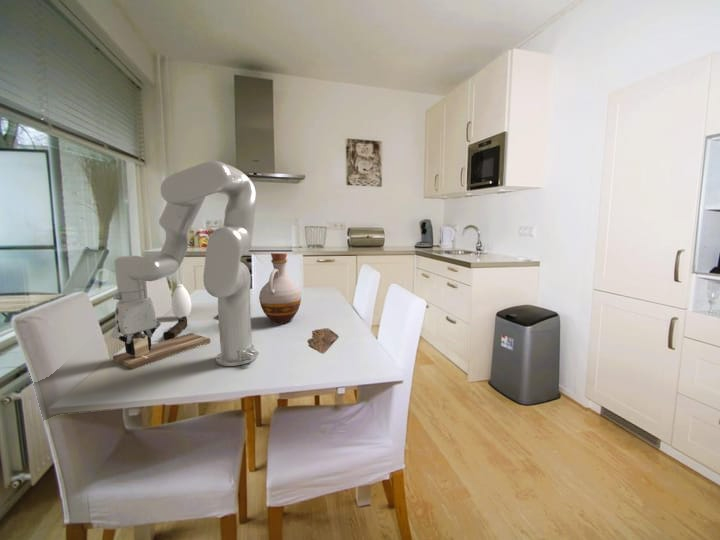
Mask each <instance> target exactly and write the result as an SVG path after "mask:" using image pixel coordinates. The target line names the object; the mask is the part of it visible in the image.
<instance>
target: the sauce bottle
mask: <svg viewBox="0 0 720 540" xmlns="http://www.w3.org/2000/svg"><path fill="white" fill-rule="evenodd" d="M171 308H172V312H173V314H174V315H175V317H177V318H179V319H180V318H182V317H184V316H186V317H188V316H189V315H190V314H191V311H192V300H191V296H190V294H189V291H188V290H187V289H186V287H185V286H184V284H182V283H181V279H180V278H179V279H178V284H177V285H176V287H175V289H174V292H173V294H172V297H171Z"/></svg>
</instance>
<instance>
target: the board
mask: <svg viewBox="0 0 720 540" xmlns="http://www.w3.org/2000/svg"><path fill="white" fill-rule="evenodd" d="M206 343H208V344H210V343H211V338H209V337H205V336H202V335H199V334H195V333H192V332H189V333H185V334H182V335H179V336H176V337H175V338H172V339H169V340H162V341H159V342H155V343H153V344H152V343H151V350H149V354H146V355H143V356H139V357H136V358H135V357H133V356H131V355H129V354H128V353H126V351H125V352H123V353H119V354H115V355H113V356H112V358H113V359H112V361H114V362H116V363H117V364H120V365H121V366H123V367H126V368H128V369H130V370H135V369H138V368H141V367H143V365H144V366H146V365H145V364H147V365H149V364H148V363H150V364H152V363H151V362H153V363H155V362H158V361H161V360H164V359H167V358H170V357H172V355H173V356H175V354H176V355H179V354H181V353H180V352H182V353H184V352H183V351H185V352H187V351H186V350H188V351H190V350H189V349H191V350H193V349H195V347H196V348H198V347H197V346H199V347H201V346H200V345H202V346H204V345H203V344H205V345H207V344H206ZM192 348H193V349H192ZM178 353H179V354H178ZM169 356H170V357H169ZM166 357H167V358H166ZM163 358H164V359H163ZM160 359H161V360H160ZM157 360H158V361H157ZM154 361H155V362H154ZM140 366H141V367H140ZM137 367H138V368H137ZM134 368H135V369H134Z"/></svg>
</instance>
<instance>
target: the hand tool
mask: <svg viewBox="0 0 720 540" xmlns="http://www.w3.org/2000/svg"><path fill="white" fill-rule="evenodd" d="M187 317H188V316H187ZM187 317H186V316H184V317H182V318H179V319H177V322H176V323H175V324H174V325H173V326H172V327H170V328H169V329H168V330H166V331H164V332H163V334H162V338H163V341H165V340H169V339H172V338H175V337H177V335H179V334H180V333H181V332H182V331H183V330H186V329H187V328H186V327H187V326H188V318H187ZM185 328H186V329H185Z"/></svg>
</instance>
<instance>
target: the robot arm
mask: <svg viewBox="0 0 720 540" xmlns="http://www.w3.org/2000/svg"><path fill="white" fill-rule="evenodd" d="M160 194H161V197H162V198H163V200H164V201H166V205H165V207H164V209H163V211H162V214H161V216H160V218H159V219H158V223H159V226H160V227H161V228H162V229H163V230H164V232H165V241H164V244H163V246H162V248H161V250H160V252H159V253H158V254H157V253H156V254H153V255H148V256H140V255H126V256H125V255H124V256H119V257H116V258H115V260H114V270H115V277H116V278H115V279H116V286H117V292H116V294H113V296H112V298H113V300H117V302H116V304H115V327H114V329H113V331H112V332H111V334H110V337H111V338H113V339H116V340H119V341H121V342H123V343H124V346H125V348H124V349H125V352H126V353H128V354H130V355H134V354H135V353H134V344H133V343H132V342H131V338H132V336H133V335H132V334H134V333H138V332H140V333H143V334H145V335H147V338H148V348H149V350H151V345H152V337H153V335H154V334H155V332H156V330H157V329H158V328H159V327H161V322H159V320H158V319H157V316H156V311H155V306H154V304H153V301H152V298H151V297H150V296H148V287H147V282H154V281H155V282H156V281H158V280H162V279H163V278H166V277H170V276H173V275H174V274H175V273H177V271H178V270H179V269H180V266H181V264H182V263H183V262H184V259H185V257H186V255H187V253H188V252H187V251H188V248H189V235H190V234H189V233H190V231H191V228H192V226H193V224H194V222H195V219H196V218H197V215H198V214H199V211H200V209H201V208H202V206H203V203H204V201H205V198H206V197H207V196H210V195H213V194H222V195H226V196H227V198H228V199H227V202H226V206H225V209H224V220H223V224H222V226H220V227H219V228H216V229H215V230H213V232H211V234H210V236H209V237H208V240H207V242H206V243H207V244H206V249H205V250H206V251H205V257H204V258H205V259H204V267H203V275H202V277H203V278H202V279H203V285H204V289H205V290H206V292H207V293H208V294H209V295H211V296H212V297H214V298H217V315H218V317H217V318H218V328H219V329H218V330H219V331H218V332H219V343H220V347H219V348H220V353H218V354H217V355H216V357H215V363H217V364H218V365H219V366H224V367H236V366H242V365H246V364H249V363H251V362H253V361H255V360H256V359H257V358H258V356H259V354H260V353H259V351H257V350H256V349H255V345H254V344H253V339H252V338H253V336H252V335H253V334H252V318H251V284H252V283H251V278H252V276H251V272H250V269H249V267H248V266H247V265H246V264H245V263H243V262H242V261H241V258H242V257H243V256H245V255H246V254H248V253H249V252H250V250H251V248H252V244H253V243H252V242H253V234H254V225H255V217H256V216H255V214H256V207H257V191H256V188H255V185H254V183H253V181H252V180H251V179H250V177H248V176H247V175H246V174H245V173H244V172H243V171H241V170H240V169H238V168H236V167H235V166H232V165H230V164H227V163H224V162H222V161H220V160H219V161H218V160H209V161H208V160H207V161H203V162H202V163H198V164H196V165H193V166H191V167H187V168H185V169H182V170H180V171H177V172H176V171H175V172H174V173H171V174H170V175H168V176H167V177H165V178H164V179H163V181H162V183H161V185H160ZM120 334H122V335H120Z"/></svg>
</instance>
